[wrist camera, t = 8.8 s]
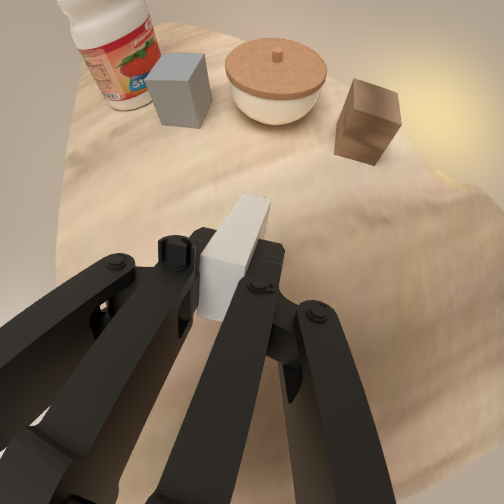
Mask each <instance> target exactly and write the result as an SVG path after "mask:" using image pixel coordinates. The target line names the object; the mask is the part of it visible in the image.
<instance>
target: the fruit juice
mask: <svg viewBox="0 0 504 504" xmlns="http://www.w3.org/2000/svg"><path fill="white" fill-rule="evenodd" d="M56 1H57V4H58V7H59V8H60V10H61V11H62V12H63V13H64V14H65V15H66V16H67V17H68V18H69V20H70V31H71V34H72V37H73V39H74V42H75V44H76V46H77V48H78V50H79V51H80V53H81V55H82V57H83V59H84V61H85V63H86V65H87V66H88V68H89V70H90V72H91V74H92V76H93V78H94V79H95V81H96V83H97V85H98V87H99V88H100V90H101V92H102V94H103V95H104V97H105V99H106V101H107V102H108V103H109V105H110V106H111V107H113V108H114V109H117V110H123V111H125V110H132V109H136V108H139V107H141V106H144V105H146V104H148V103H149V102H151V101H152V98H151V96H150V93H149V91H148V88H147V86H146V83H145V81H144V80H145V79H146V77H147V76H148V74H149V73H150V71H151V70H152V69H153V67H154V66H155V64H156V63H157V62H158V60H159V59H160V58H161V53H160V50H159V47H158V43H157V40H156V36H155V33H154V29H153V26H152V22H151V19H150V15H149V11H148V8H147V5H146V3H145V0H56Z"/></svg>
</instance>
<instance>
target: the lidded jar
mask: <svg viewBox="0 0 504 504" xmlns="http://www.w3.org/2000/svg"><path fill="white" fill-rule="evenodd" d="M225 69H226V74H227V78H228V84H229V89H230V92H231V95H232V97H233V99H234V101H235V103H236V105H237V106H238V107H239V109H240V110H241V111H242V112H243V113H244V114H246V115H247V116H249V117H250V118H252V119H254V120H256V121H258V122H260V123H263V124H266V125H272V126H277V125H283V124H287V123H291V122H294V121H296V120H298V119H300V118H302V117H303V116H304V115H306V114H307V113H308V112H309V111H310V110H311V109H312V107H313V106H314V104H315V103H316V101H317V99H318V97H319V95H320V92H321V89H322V86H323V84H324V82H325V79H326V75H327V68H326V64H325V63H324V61H323V59H322V58H321V57H320V56H319V55H318V54H317V53H316V52H315V51H314V50H312V49H310V48H309V47H307V46H305V45H303V44H300V43H298V42H294V41H291V40H286V39H278V38H264V39H256V40H252V41H249V42H246V43H243V44H241V45H239V46H238V47H236V48H234V49H233V50H232V51H231V52H230V54H229V55H228V56H227V59H226V62H225Z"/></svg>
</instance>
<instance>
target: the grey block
mask: <svg viewBox="0 0 504 504" xmlns="http://www.w3.org/2000/svg"><path fill="white" fill-rule="evenodd" d="M144 81H145V83H146V86H147V88H148V91H149V93H150V96H151V98H152V101H153V103H154V106H155V108H156V111H157V113H158V116H159V118H160V121H161V123H162V125H167V126H178V127H188V128H197V129H200V127H201V124H202V122H203V120H204V117H205V115H206V113H207V111H208V108H209V106H210V104H211V102H212V97H211V91H210V85H209V79H208V73H207V66H206V60H205V54H200V53H164V54H163V55H162V56H161V58H160V59H159V60H158V62H157V63H156V64H155V66H154V67H153V69H152V70H151V71H150V73H149V74H148V76H147V77H146V79H145V80H144Z"/></svg>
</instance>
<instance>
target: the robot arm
mask: <svg viewBox="0 0 504 504" xmlns="http://www.w3.org/2000/svg"><path fill="white" fill-rule="evenodd" d="M270 204H271V198H266V197H261V196H257V195H252V194H247V193H243V194H242V195H241V197H240V198H239V200H238V201H237V203H236V204H235V205H234V207H233V208H232V210H231V211H230V212H229V214H228V215H227V217H226V218H225V220H224V221H223V222H222V224H221V225H220V227H219V228H218V230H214V229H209V228H205V227H202V228H200V229H198V230H196V231H194V232H193V233H192V235H191V236H190V238H188V237H185V236H179V235H172V236H166V237H163V238H161V239H160V240H158V261H159V262H158V263H157V264H156V265H155V266H154V267H137V266H135V261H134V258H133V257H131V256H130V255H127V254H124V253H116V254H111V255H108V256H106V257H104V258H102V259H101V260H99V261H98V262H96V263H94V264H93V265H91V266H89V267H88V268H86V269H85V270H83V271H82V272H80V273H78V274H77V275H75V276H74V277H72V278H71V279H69V280H68V281H66V282H65V283H63V284H61V285H60V286H58V287H57V288H55V289H54V290H52V291H51V292H50V293H48V294H47V295H45V296H44V297H42V298H41V299H39V300H38V301H36V302H35V303H34V304H32V305H31V306H30V307H28V308H26V309H25V310H24V311H22V312H21V313H19V314H18V315H17V316H15V317H14V318H13V319H11V320H10V321H9V322H7V323H6V324H5V325H3V326H2V327H1V328H0V452H1V451H2V450H4V449H5V448H6V447H7V448H6V450H5V452H4V453H3V455H2V457H1V459H0V504H115V503H116V500H117V497H118V493H119V487H118V484H119V480H120V477H121V475H122V473H123V471H124V468H125V466H126V464H127V462H128V460H129V457H130V455H131V453H132V451H133V449H134V446H135V444H136V442H137V440H138V438H139V435H140V433H141V431H142V429H143V427H144V425H145V423H146V420H147V418H148V416H149V414H150V412H151V410H152V408H153V405H154V403H155V401H156V399H157V397H158V395H159V393H160V391H161V389H162V386H163V384H164V382H165V380H166V378H167V376H168V374H169V372H170V370H171V368H172V366H173V364H174V361H175V359H176V357H177V355H178V353H179V351H180V349H181V347H182V345H183V343H184V341H185V339H186V337H187V335H188V333H189V331H190V329H191V327H192V324H193V314H194V312H195V310H196V308H197V316H200V317H203V318H207V319H210V320H214V321H218V322H222V325H221V327H220V330H219V332H218V335H217V337H216V340H215V342H214V345H213V347H212V350H211V352H210V355H209V358H208V360H207V363H206V365H205V368H204V370H203V373H202V375H201V378H200V380H199V383H198V385H197V388H196V390H195V393H194V395H193V398H192V400H191V403H190V406H189V408H188V411H187V413H186V416H185V418H184V421H183V423H182V426H181V428H180V431H179V433H178V436H177V438H176V441H175V444H174V446H173V449H172V451H171V454H170V456H169V459H168V461H167V464H166V466H165V469H164V471H163V474H162V477H161V479H160V482H159V484H158V486H157V488H156V490H155V491H154V493H153V494H152V495H151V496H150V497H149V498H148V500H147V501H146V503H145V504H230V501H231V498H232V494H233V490H234V487H235V483H236V479H237V475H238V471H239V467H240V463H241V460H242V456H243V452H244V448H245V443H246V439H247V435H248V431H249V427H250V423H251V418H252V414H253V410H254V406H255V401H256V397H257V392H258V388H259V383H260V379H261V374H262V370H263V365H264V360H265V356H266V355H267V356H269V357H271V358H272V359H274V360H276V361H278V367H279V375H280V382H281V389H282V397H283V404H284V412H285V420H286V427H287V435H288V443H289V450H290V458H291V466H292V474H293V482H294V490H295V499H296V504H396V501H395V497H394V492H393V488H392V484H391V480H390V477H389V473H388V469H387V465H386V462H385V458H384V454H383V451H382V447H381V444H380V440H379V437H378V434H377V430H376V427H375V424H374V420H373V417H372V414H371V411H370V407H369V404H368V401H367V398H366V395H365V392H364V389H363V386H362V383H361V380H360V377H359V374H358V371H357V368H356V365H355V363H354V360H353V357H352V354H351V351H350V348H349V346H348V343H347V340H346V337H345V335H344V332H343V329H342V327H341V324H340V321H339V319H338V316H337V314H336V312H335V311H334V309H332V308H331V307H330V306H329V305H327V304H325V303H323V302H321V301H316V300H307V301H304V302H302V303H300V305H297V304H295V303H292V302H291V301H289V300H287V299H286V298H285V297H284V296H283V295H282V294H281V292H280V290H279V281H280V275H281V270H282V265H283V259H284V253H285V250H284V248H283V246H282V244H280V243H275V242H271V241H267V240H264V235H265V230H266V225H267V220H268V215H269V209H270ZM105 301H106V305H107V307H106V308H104V309H102V310H101V309H100V305H101V304H103V303H104V302H105ZM51 404H52V405H51ZM50 405H51V406H50ZM49 406H50V408H49V409H48V411H47V412H46V414H45V416H44V417H43V419H42V420H41V422H40V423H39V424H37V425H35V426H29V425H30V424H31V423H32V422H33V421H34V420H36V418H38V417H39V416H40V415H41V414H42V413H43V412H44V411H45V410H46V409H47V408H48V407H49Z"/></svg>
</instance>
